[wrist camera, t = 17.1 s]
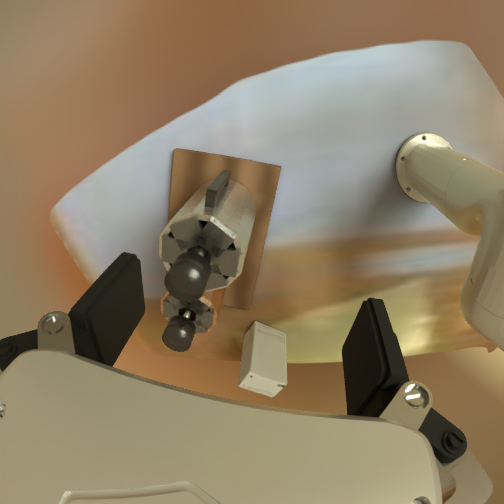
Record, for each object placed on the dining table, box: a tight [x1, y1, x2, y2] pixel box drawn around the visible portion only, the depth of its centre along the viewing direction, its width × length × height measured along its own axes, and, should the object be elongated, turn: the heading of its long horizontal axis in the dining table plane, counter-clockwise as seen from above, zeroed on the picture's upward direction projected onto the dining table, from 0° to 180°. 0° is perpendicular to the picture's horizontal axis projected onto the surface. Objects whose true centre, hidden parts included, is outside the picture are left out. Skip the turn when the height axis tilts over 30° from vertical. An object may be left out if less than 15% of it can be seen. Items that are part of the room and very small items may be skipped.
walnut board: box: [167, 148, 281, 310], centre depth 54 cm, size 18×30×1 cm, turn 170°
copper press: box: [161, 287, 227, 334], centre depth 53 cm, size 10×12×13 cm
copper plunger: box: [162, 307, 196, 352], centre depth 48 cm, size 6×6×15 cm
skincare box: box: [238, 321, 287, 397], centre depth 59 cm, size 8×6×15 cm
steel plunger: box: [165, 220, 211, 302], centre depth 39 cm, size 8×8×19 cm
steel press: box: [159, 170, 257, 292], centre depth 43 cm, size 11×13×17 cm
